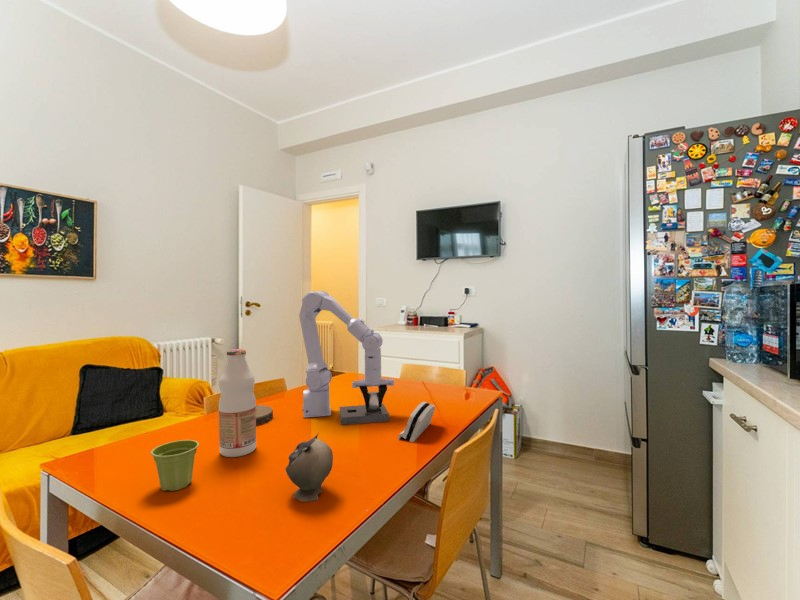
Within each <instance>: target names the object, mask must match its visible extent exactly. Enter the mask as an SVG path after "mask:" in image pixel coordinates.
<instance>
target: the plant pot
mask: <svg viewBox="0 0 800 600" xmlns="http://www.w3.org/2000/svg"><path fill="white" fill-rule="evenodd" d="M199 445H200V444H199V441H197V440H194V439H193V440H192V439H181V440H175V441H174V440H173V441H170V442H166V443H163V444H160V445H158V446H156V447H154V448H153V449H152V450H151V451H150V455H151V456H152V457H153V460H154V462H155V465H156V470H157V476H158V480H159V485H160V489H161V490H162V491H164V492H165V491H171V492H174V491H178V490H181V489H184V488H186V487H187V486H188V485H189V484H191V483H192V481H193V480H192V479H193V472H194V464H195V456H196V452H197V448H198V447H199Z"/></svg>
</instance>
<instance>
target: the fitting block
mask: <svg viewBox="0 0 800 600" xmlns="http://www.w3.org/2000/svg"><path fill="white" fill-rule="evenodd" d="M338 411H339V419H340V424H341V426H346V425H348V426H349V425H360V424H370V423H371V424H372V423H374V424H375V423H383V422H385V423H386V422H390V413H389V411H388V409H387V407H386V406H385V404H384V403H382V406H381V407H379V411H377V412H368V408H366V406H365V404H361V405H359V404H358V405H349V406H339V410H338Z"/></svg>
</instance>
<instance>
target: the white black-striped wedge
mask: <svg viewBox="0 0 800 600" xmlns="http://www.w3.org/2000/svg"><path fill="white" fill-rule="evenodd" d="M435 410H436V406H435V405H434V404H431V403H429V402H427V401H422V402H421V403H419V404H418V405H417V406H416V407H415V409H413V411H412V413H411V414H410V416H409V418H408V421H407V423H406V426H405V428H404V430H403V431H401V432H400V433H399V434H398V438H397V441H399V440H401V439H402V438H403V439H405V440H406V439H408V440H409V442H410V443H414V442H416V440H417V439H418V438H419V437H420V436H421V434H423V432H424V431H425V430H426V429H427V428H428V427H429V426H430V424H431V423H432V419H433V416H434V413H435Z"/></svg>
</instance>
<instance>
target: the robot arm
mask: <svg viewBox="0 0 800 600" xmlns="http://www.w3.org/2000/svg"><path fill="white" fill-rule="evenodd" d="M301 303H302V304H301V307H300V311H299V322H300V328H301V333H302V336H303V343H304V348H305V352H306V357H307V363H308V365H307V368H306V371H305V373H306V378H305V385H306V387H307V389H304V390H303V392H302V394H303V395H302V397H303V398H302V400H303V402H302V403H303V404H302V411H303V418H316V417H329V416H332V411H331V409H332V408H331V403H330V402H331V401H330V383H331V381H332V379H333V375H332V372H331V370H330V369H329V367H328V364H327V363H326V361H324V357H323V351H322V347H321V342H320V335H319V332H318V327H317V320H316V318H317V316H318V315H319V313H321V312H322V311H327V312H328V311H329V312H331V313H332V314H333V315H334V316H336V317H337V318H338V319H339V320H340V321H341V322H343V323H344V324H345V325H346V327H347V331H348V332H349V333H350V334H351V335H352V336H353V337H354V338H356V340H357V341H358V342H359V343H361V346H362V349H364V379H361V380H354V381H353V380H352V382H351V388H352V389H356V388H359V390H360V392H361V394H362V397H363V399H364V405H365V406H366V408H368V392H369V390H368V388H369V387H371V388H372V387H377V388H378V392H379V407H381V406H382V404H383V401H384V399H385V398H384V397H385V394H386V392H387V390H388V387H387V386H391V387H392V386H393V387H394V386H395V379H394V378H382V350H381V349H382V348H381V347H382V346H383V337H382V336H381V335H380V333H378V332H375V330H374V329H373V328H372V329H371V328H370V327H369V326H368V325H367V324H365V320H363V319H360V318H359V317H358V318H354V317H353V316H352V315H351V314H350V313H349V311H347V310H346V309H345V308H344V307H343V306H342V305H341V304H340V303H339V302H338V301H337V300H336V299H335V298H334V296H332V295H330V294H329V293H328V292H327V291H325V290H320V291H319V290H318V291H315V290H310V291H308V292H307V293H306V294H305V295H304V296H303V297H302V299H301Z"/></svg>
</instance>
